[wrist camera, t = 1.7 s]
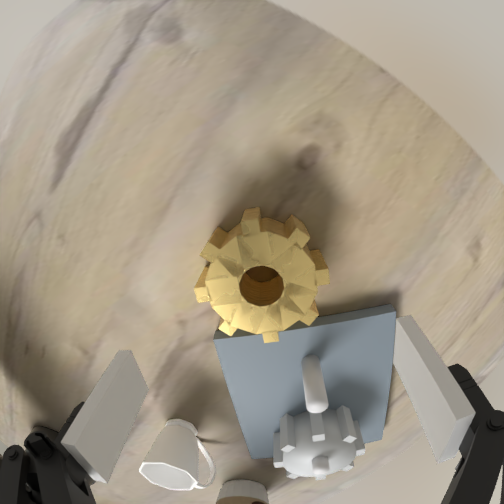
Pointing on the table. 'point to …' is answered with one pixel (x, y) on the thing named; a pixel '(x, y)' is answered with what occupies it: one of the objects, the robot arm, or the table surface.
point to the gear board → (283, 375)
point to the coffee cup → (242, 493)
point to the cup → (176, 458)
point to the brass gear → (262, 293)
